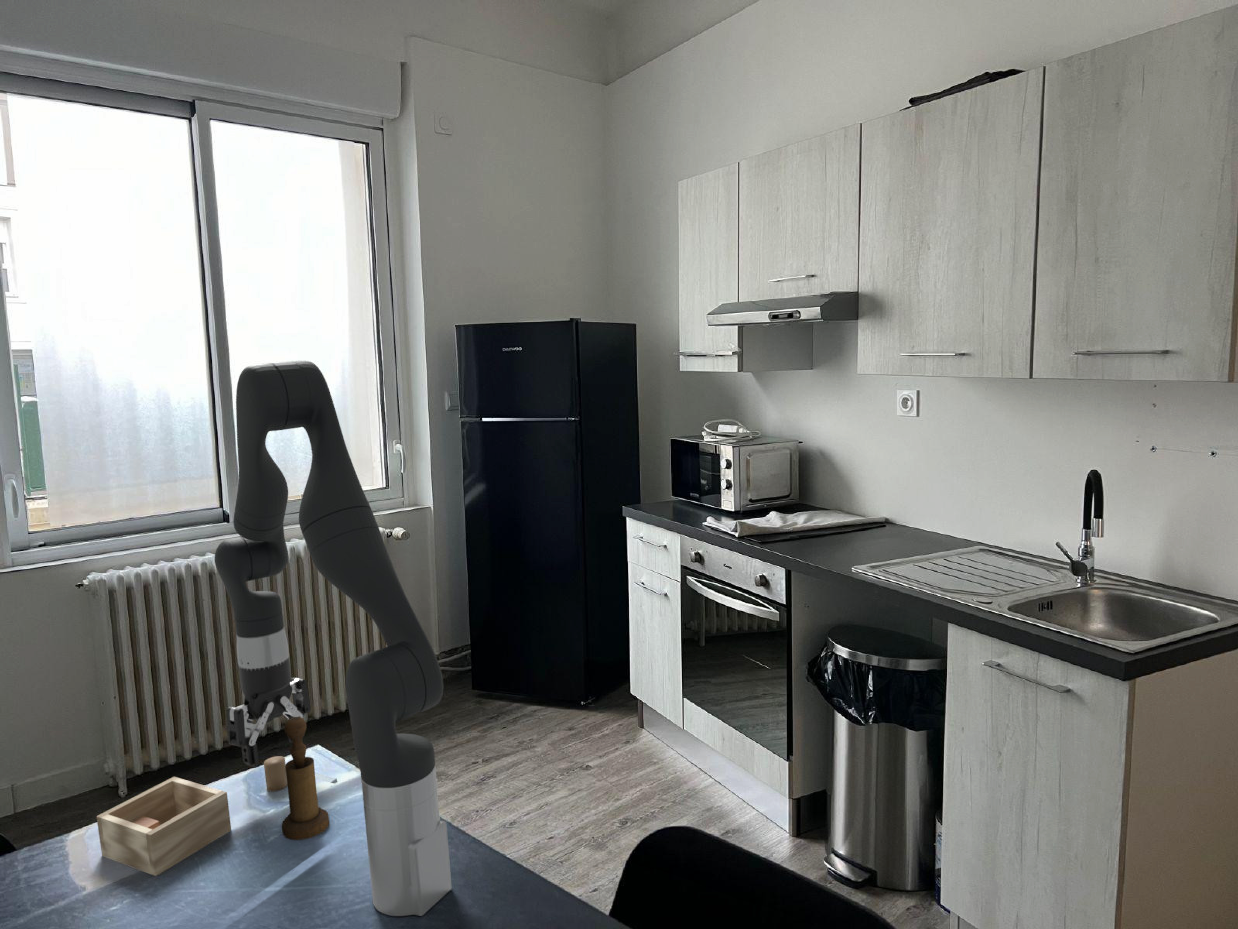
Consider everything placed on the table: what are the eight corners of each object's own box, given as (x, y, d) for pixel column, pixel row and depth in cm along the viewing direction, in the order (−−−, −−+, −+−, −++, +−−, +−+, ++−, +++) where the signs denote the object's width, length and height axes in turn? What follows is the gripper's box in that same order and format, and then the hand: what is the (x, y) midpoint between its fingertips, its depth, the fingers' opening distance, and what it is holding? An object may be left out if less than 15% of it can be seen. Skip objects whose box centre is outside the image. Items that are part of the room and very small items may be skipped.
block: (162, 843, 124) (159, 821, 123) (139, 857, 121) (136, 834, 120) (146, 838, 125) (143, 816, 125) (123, 851, 122) (120, 828, 122)
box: (232, 836, 127) (226, 792, 126) (156, 882, 116) (150, 835, 115) (179, 819, 132) (173, 776, 131) (103, 862, 122) (96, 816, 121)
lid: (337, 784, 142) (333, 750, 141) (274, 824, 130) (269, 788, 130) (282, 769, 148) (278, 737, 147) (216, 807, 136) (212, 772, 136)
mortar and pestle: (337, 821, 129) (326, 709, 127) (318, 846, 123) (306, 728, 120) (295, 821, 130) (283, 709, 128) (274, 846, 124) (261, 728, 121)
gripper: (242, 677, 128) (254, 779, 130) (315, 645, 140) (325, 739, 143) (208, 671, 131) (220, 770, 134) (282, 640, 144) (293, 732, 146)
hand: (274, 754), depth 138 cm, fingers open, 8 cm apart
